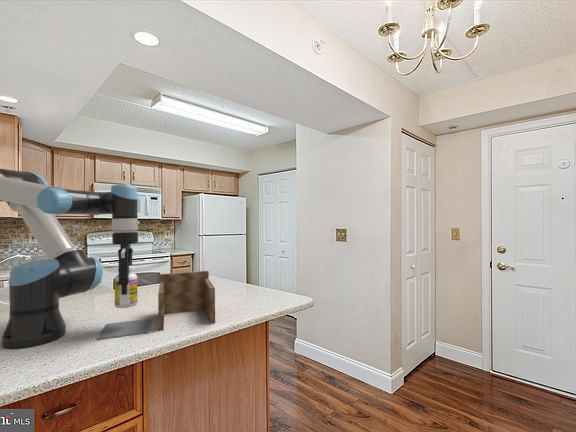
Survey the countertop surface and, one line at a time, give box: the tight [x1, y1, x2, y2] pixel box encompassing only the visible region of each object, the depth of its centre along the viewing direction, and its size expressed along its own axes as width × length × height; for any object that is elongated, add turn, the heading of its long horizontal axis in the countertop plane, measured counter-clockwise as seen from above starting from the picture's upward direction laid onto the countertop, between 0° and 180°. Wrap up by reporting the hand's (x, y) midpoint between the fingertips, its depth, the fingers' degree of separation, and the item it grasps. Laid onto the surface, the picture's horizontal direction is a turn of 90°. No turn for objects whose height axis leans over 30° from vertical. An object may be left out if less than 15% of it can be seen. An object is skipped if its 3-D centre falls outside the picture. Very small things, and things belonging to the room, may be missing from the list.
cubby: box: [157, 270, 216, 331], centre depth 111 cm, size 18×20×15 cm
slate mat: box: [96, 318, 152, 341], centre depth 101 cm, size 14×14×1 cm
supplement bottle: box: [114, 265, 138, 309], centre depth 101 cm, size 7×7×13 cm
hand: (126, 301), depth 101 cm, fingers closed on supplement bottle, 7 cm apart
